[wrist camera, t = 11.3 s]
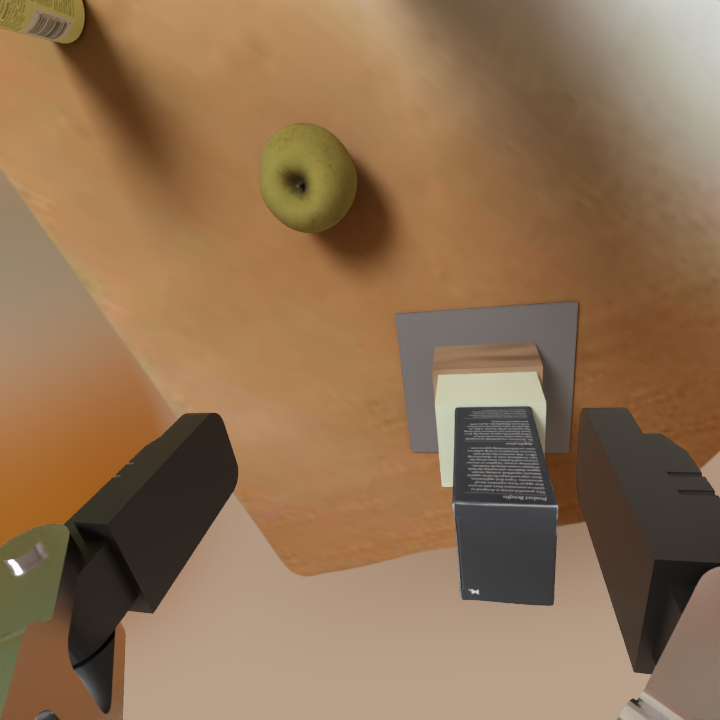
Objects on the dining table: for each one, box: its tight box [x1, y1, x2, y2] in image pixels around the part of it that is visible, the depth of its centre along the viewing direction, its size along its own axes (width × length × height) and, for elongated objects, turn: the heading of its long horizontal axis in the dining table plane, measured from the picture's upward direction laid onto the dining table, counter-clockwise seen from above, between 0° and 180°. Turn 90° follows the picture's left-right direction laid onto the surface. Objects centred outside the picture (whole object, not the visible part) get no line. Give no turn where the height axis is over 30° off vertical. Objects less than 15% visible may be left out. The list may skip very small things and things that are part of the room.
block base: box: [432, 342, 543, 400], centre depth 41 cm, size 9×9×5 cm
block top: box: [435, 372, 546, 487], centre depth 37 cm, size 8×8×5 cm
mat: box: [395, 301, 578, 453], centre depth 44 cm, size 16×16×1 cm
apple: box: [259, 123, 357, 233], centre depth 35 cm, size 8×8×7 cm
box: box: [452, 406, 558, 606], centre depth 30 cm, size 8×6×11 cm
